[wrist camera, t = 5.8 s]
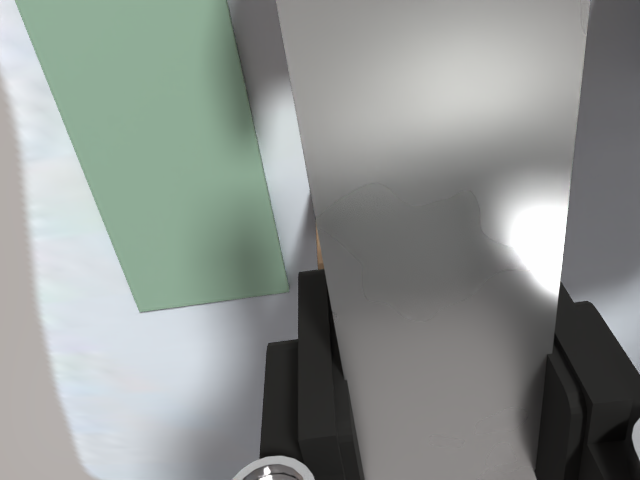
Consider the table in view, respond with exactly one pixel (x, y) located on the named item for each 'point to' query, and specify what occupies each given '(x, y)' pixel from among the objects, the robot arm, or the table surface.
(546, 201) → the rail
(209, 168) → the mat
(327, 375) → the robot arm
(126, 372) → the table surface
